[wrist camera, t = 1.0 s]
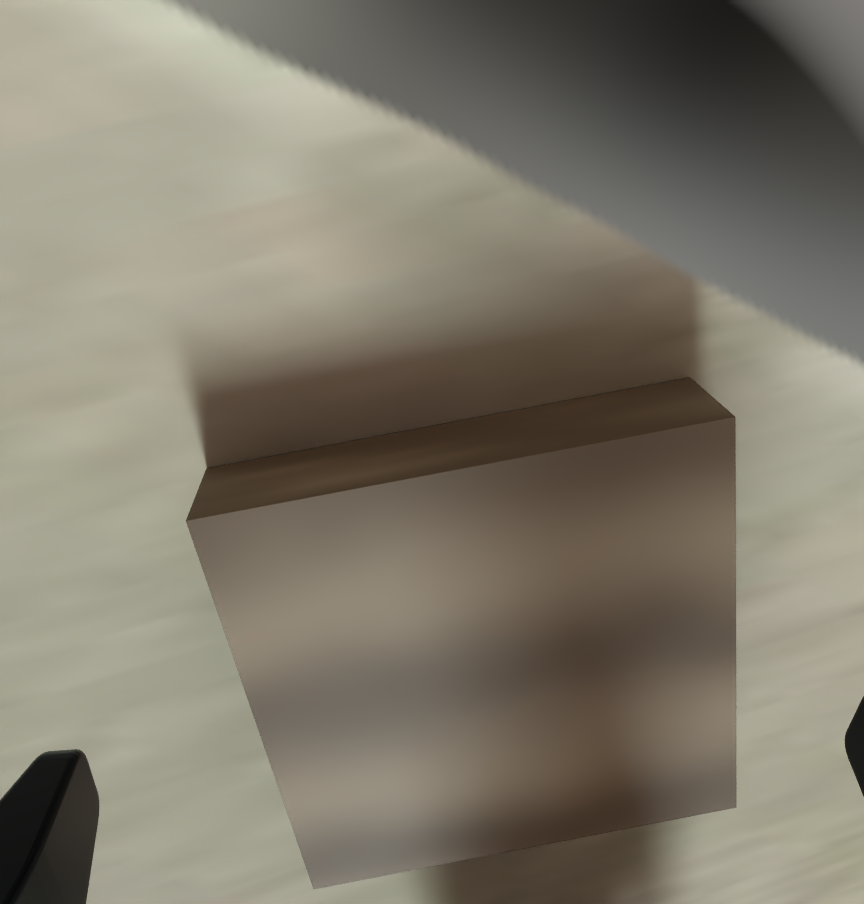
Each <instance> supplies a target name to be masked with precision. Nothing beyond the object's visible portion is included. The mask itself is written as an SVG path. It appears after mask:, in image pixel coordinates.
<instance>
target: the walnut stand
mask: <svg viewBox="0 0 864 904" xmlns="http://www.w3.org/2000/svg"><path fill="white" fill-rule="evenodd" d="M186 522H187V525H188V528H189V531H190V534H191V537H192V540H193V543H194V546H195V548H196V551H197V554H198V557H199V560H200V563H201V566H202V569H203V571H204V574H205V577H206V580H207V583H208V586H209V589H210V592H211V595H212V597H213V600H214V603H215V606H216V609H217V612H218V615H219V618H220V621H221V623H222V626H223V629H224V632H225V635H226V638H227V641H228V644H229V646H230V649H231V652H232V655H233V658H234V661H235V664H236V667H237V670H238V672H239V675H240V678H241V681H242V684H243V687H244V690H245V693H246V695H247V698H248V701H249V704H250V707H251V710H252V713H253V716H254V719H255V721H256V724H257V727H258V730H259V733H260V736H261V739H262V742H263V745H264V747H265V750H266V753H267V756H268V759H269V762H270V765H271V768H272V770H273V773H274V776H275V779H276V782H277V785H278V788H279V791H280V794H281V796H282V799H283V802H284V805H285V808H286V811H287V814H288V817H289V820H290V822H291V825H292V828H293V831H294V834H295V837H296V840H297V843H298V845H299V848H300V851H301V854H302V857H303V860H304V863H305V866H306V869H307V871H308V874H309V877H310V880H311V883H312V886H313V889H318V888H323V887H328V886H333V885H338V884H343V883H349V882H354V881H359V880H364V879H369V878H374V877H380V876H385V875H390V874H395V873H400V872H405V871H411V870H416V869H421V868H426V867H431V866H436V865H442V864H447V863H452V862H457V861H462V860H467V859H473V858H478V857H483V856H488V855H493V854H498V853H504V852H509V851H514V850H519V849H524V848H529V847H535V846H540V845H545V844H550V843H555V842H560V841H566V840H571V839H576V838H581V837H586V836H591V835H597V834H602V833H607V832H612V831H617V830H622V829H628V828H633V827H638V826H643V825H648V824H653V823H659V822H664V821H669V820H674V819H679V818H684V817H690V816H695V815H700V814H705V813H710V812H715V811H721V810H726V809H731V808H736V467H735V416H734V415H732V414H731V413H730V412H729V411H728V410H727V409H726V408H724V407H723V406H722V405H721V404H720V403H719V402H718V401H716V400H715V399H714V398H713V397H712V396H711V395H710V394H708V393H707V392H706V391H705V390H704V389H703V388H701V387H700V386H699V385H698V384H697V383H696V382H695V381H693V380H692V379H691V378H684V379H679V380H674V381H668V382H663V383H658V384H652V385H647V386H642V387H637V388H631V389H626V390H621V391H615V392H610V393H605V394H599V395H594V396H589V397H584V398H578V399H573V400H568V401H562V402H557V403H552V404H546V405H541V406H536V407H531V408H525V409H520V410H515V411H509V412H504V413H499V414H493V415H488V416H483V417H478V418H472V419H467V420H462V421H456V422H451V423H446V424H440V425H435V426H430V427H425V428H419V429H414V430H409V431H403V432H398V433H393V434H387V435H382V436H377V437H372V438H366V439H361V440H356V441H350V442H345V443H340V444H334V445H329V446H324V447H319V448H313V449H308V450H303V451H297V452H292V453H287V454H281V455H276V456H271V457H266V458H260V459H255V460H250V461H244V462H239V463H234V464H228V465H223V466H218V467H213V468H207V469H206V471H205V474H204V476H203V479H202V481H201V484H200V486H199V489H198V491H197V494H196V497H195V499H194V502H193V504H192V507H191V509H190V512H189V515H188V517H187V520H186Z"/></svg>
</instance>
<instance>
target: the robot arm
mask: <svg viewBox="0 0 864 904" xmlns="http://www.w3.org/2000/svg"><path fill="white" fill-rule="evenodd" d="M845 748H846V753H847V756H848V759H849V761H850V764H851V766H852V769H853V771H854V774H855V776H856V779H857V781H858V784H859V786H860V789H861V791H862V794H863V796H864V697H863V698H862V700H861V702H860V704H859V707H858V709H857V711H856V713H855V715H854V717H853V719H852V721H851V723H850V725H849V727H848V729H847V732H846V735H845ZM98 818H99V796H98V792H97V789H96V786H95V783H94V780H93V776H92V773H91V770H90V767H89V764H88V761H87V758H86V756H85V754H84V753H83V752H82V751H81V750H77V749H74V750H60V751H49V752H45V753H43V754H41V755H40V756H38V757H37V758H36V759H35V760H34V761H33V762H32V764H31V765H30V766H29V767H28V768H27V769H26V771H25V772H24V773H23V774H22V775H21V776H20V778H19V779H18V780H17V781H16V782H15V783H14V785H13V786H12V787H11V788H10V789H9V790H8V792H7V793H6V794H5V795H4V796H3V797H2V799H1V800H0V904H86V899H87V893H88V886H89V879H90V872H91V866H92V859H93V852H94V845H95V839H96V832H97V825H98Z"/></svg>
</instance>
